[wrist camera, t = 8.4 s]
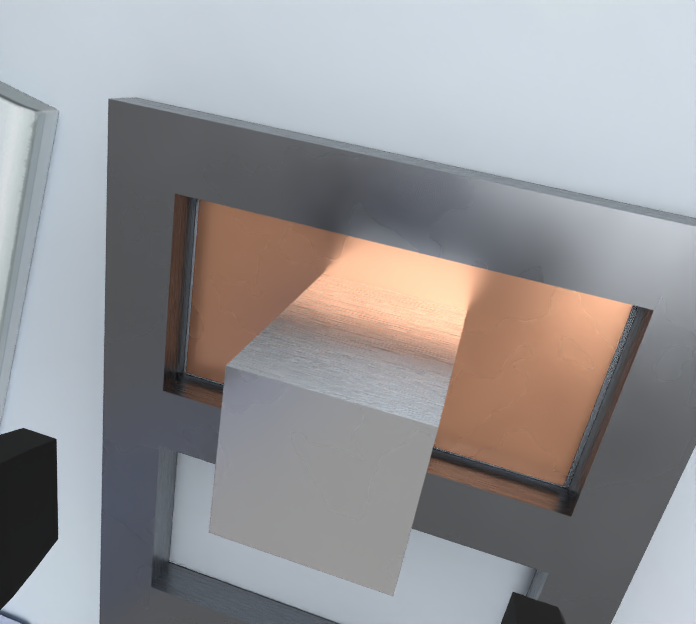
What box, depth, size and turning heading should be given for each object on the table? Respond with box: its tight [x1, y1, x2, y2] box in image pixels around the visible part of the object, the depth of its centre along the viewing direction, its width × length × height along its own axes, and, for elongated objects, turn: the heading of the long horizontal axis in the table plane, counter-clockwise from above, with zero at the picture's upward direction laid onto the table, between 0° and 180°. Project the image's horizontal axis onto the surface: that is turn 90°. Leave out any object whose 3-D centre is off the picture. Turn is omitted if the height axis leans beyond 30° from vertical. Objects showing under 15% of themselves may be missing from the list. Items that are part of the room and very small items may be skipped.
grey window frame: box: [100, 98, 696, 624], centre depth 20 cm, size 26×16×1 cm, turn 170°
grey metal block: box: [209, 274, 467, 596], centre depth 14 cm, size 4×4×6 cm
